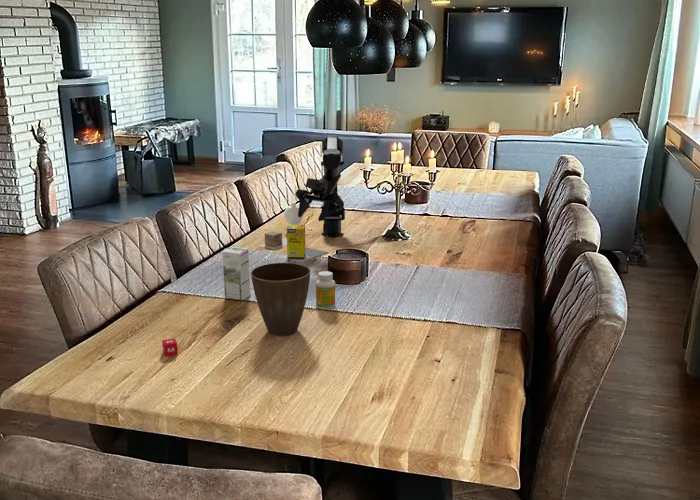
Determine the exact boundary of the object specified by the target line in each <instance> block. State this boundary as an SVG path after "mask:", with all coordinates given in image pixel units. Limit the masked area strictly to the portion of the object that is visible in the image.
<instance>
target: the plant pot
mask: <svg viewBox="0 0 700 500" xmlns="http://www.w3.org/2000/svg"><path fill="white" fill-rule="evenodd" d="M250 277H251V283H252V287H253V291H254V295H255V299H256V302H257V306H258V309H259V313H260V315H261V317H262V320H263V323H264V325H265V327H266V330H267V331H268V333H269V334H271V335H273V336H277V337H284V336H285V337H286V336H291V335H293V334H295V333H296V332H297V331H298V328H299V326H300V323H301V320H302V317H303V315H304V314H303V313H304V312H305V311H304V310H305V307H306V303H307V297H308V293H309V288H310V281H311V269H310V268H309V266H306V265H303V264H300V263H296V262H295V263H294V262H293V263H292V262H276V263H275V262H274V263H267V264H262V265H259V266H257V267H255V268H252V270H251V271H250Z"/></svg>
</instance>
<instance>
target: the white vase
mask: <svg viewBox="0 0 700 500" xmlns="http://www.w3.org/2000/svg"><path fill="white" fill-rule="evenodd" d="M296 204H297V201H291V203H290V205H289V206H287V207H286V208H285V210H284V212H283V215H284V219H285V221H286V222H287V224H288V225H300V223H302V220H303V217H304V214H303V215H302V216H301V217H300V218H299V217H298V211H299V205H296Z"/></svg>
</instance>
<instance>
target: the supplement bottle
mask: <svg viewBox="0 0 700 500" xmlns="http://www.w3.org/2000/svg"><path fill="white" fill-rule="evenodd" d="M333 276H334V274H333V272H331V271H327V270H326V271H320V272H318V273H317V277H318V279H317V280H316V282H315V306H316V307H317V308H318V309H322V310H330V309H333V308H335V306H336V281H335V280H334V279H333Z"/></svg>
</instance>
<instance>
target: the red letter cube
mask: <svg viewBox="0 0 700 500" xmlns="http://www.w3.org/2000/svg"><path fill="white" fill-rule="evenodd" d="M161 341H162V352H163V355H164V357H171V356H177V355H179V352H178V351H179V350H178V342H177V340H176V338H170V339H163V340H161Z"/></svg>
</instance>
